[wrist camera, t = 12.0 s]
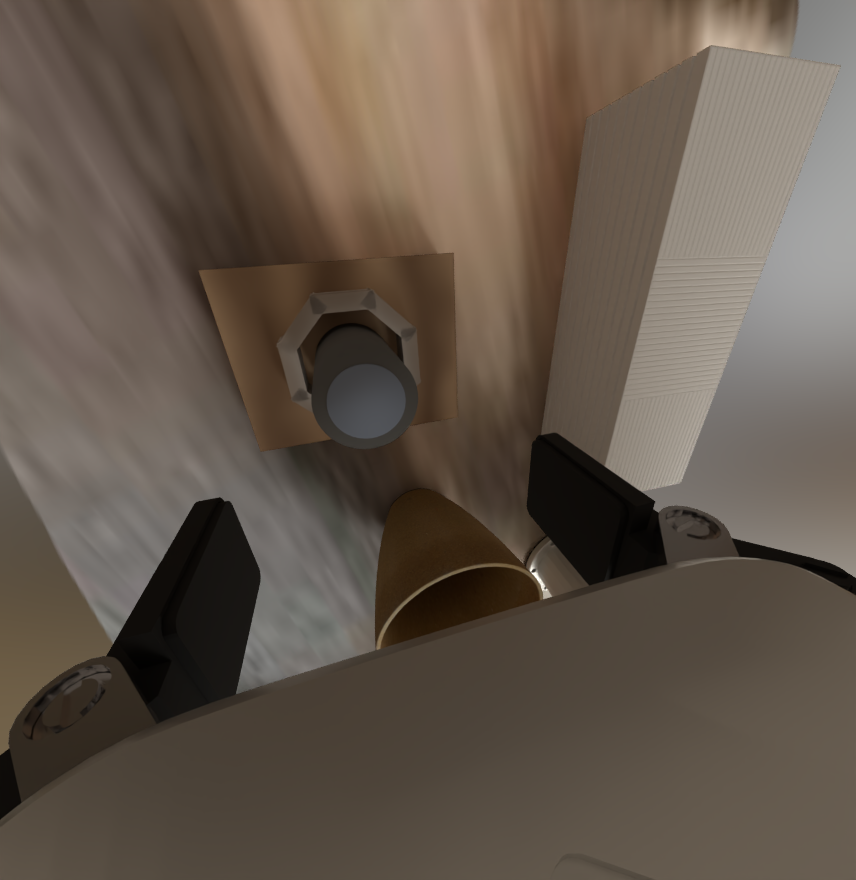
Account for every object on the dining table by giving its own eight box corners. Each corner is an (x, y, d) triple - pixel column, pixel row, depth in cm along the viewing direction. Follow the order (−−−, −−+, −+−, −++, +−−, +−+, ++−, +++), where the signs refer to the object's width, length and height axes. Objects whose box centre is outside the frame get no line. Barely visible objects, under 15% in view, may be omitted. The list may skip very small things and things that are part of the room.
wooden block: (438, 254, 30) (464, 251, 24) (445, 403, 36) (467, 427, 30) (215, 270, 26) (184, 270, 20) (267, 432, 32) (255, 466, 27)
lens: (384, 318, 27) (414, 342, 18) (393, 390, 30) (422, 440, 21) (307, 327, 26) (298, 357, 17) (323, 400, 28) (324, 459, 20)
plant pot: (376, 573, 44) (400, 709, 31) (341, 484, 37) (351, 611, 23) (480, 536, 46) (546, 647, 33) (467, 445, 39) (543, 540, 25)
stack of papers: (608, 439, 45) (680, 483, 36) (537, 451, 43) (596, 501, 34) (685, 127, 31) (841, 65, 21) (584, 118, 28) (712, 44, 19)
